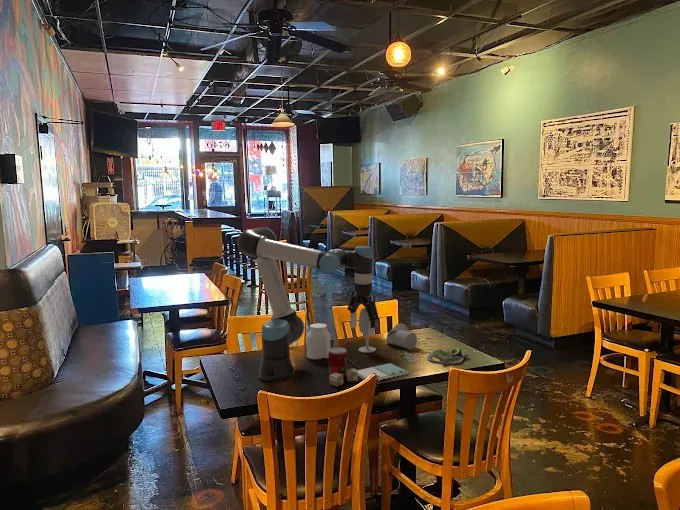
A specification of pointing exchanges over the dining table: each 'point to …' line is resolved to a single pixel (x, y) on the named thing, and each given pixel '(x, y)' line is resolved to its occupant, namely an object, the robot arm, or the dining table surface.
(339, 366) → the canned food
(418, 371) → the dining table surface
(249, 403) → the dining table surface
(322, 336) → the jar
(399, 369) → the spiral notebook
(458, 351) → the salad plate
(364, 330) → the wineglass
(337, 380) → the maple block
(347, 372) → the maple block
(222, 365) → the dining table surface
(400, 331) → the bent grey cylinder
